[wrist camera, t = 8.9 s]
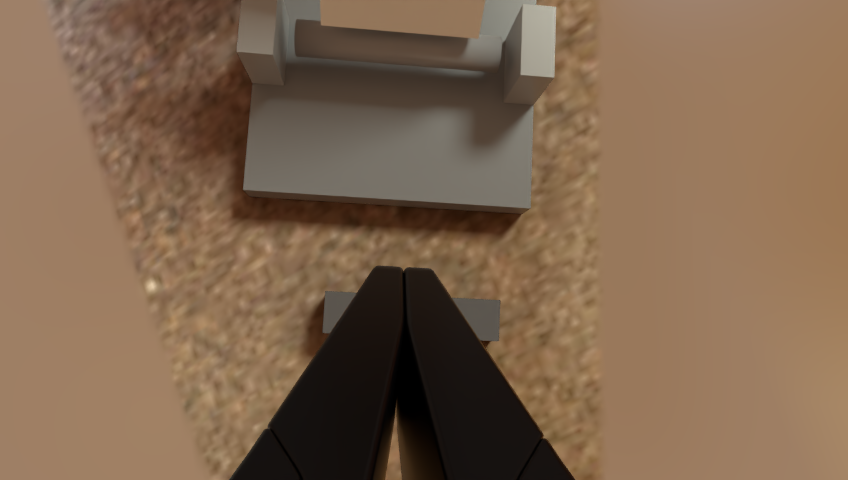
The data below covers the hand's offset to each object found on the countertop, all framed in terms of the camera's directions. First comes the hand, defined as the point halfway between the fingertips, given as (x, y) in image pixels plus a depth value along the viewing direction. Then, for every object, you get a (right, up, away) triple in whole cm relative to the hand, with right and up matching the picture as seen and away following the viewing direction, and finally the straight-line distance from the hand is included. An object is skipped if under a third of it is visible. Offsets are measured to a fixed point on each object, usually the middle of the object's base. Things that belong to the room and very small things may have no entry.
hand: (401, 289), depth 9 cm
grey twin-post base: (-1, +7, +14) cm, 16 cm away
